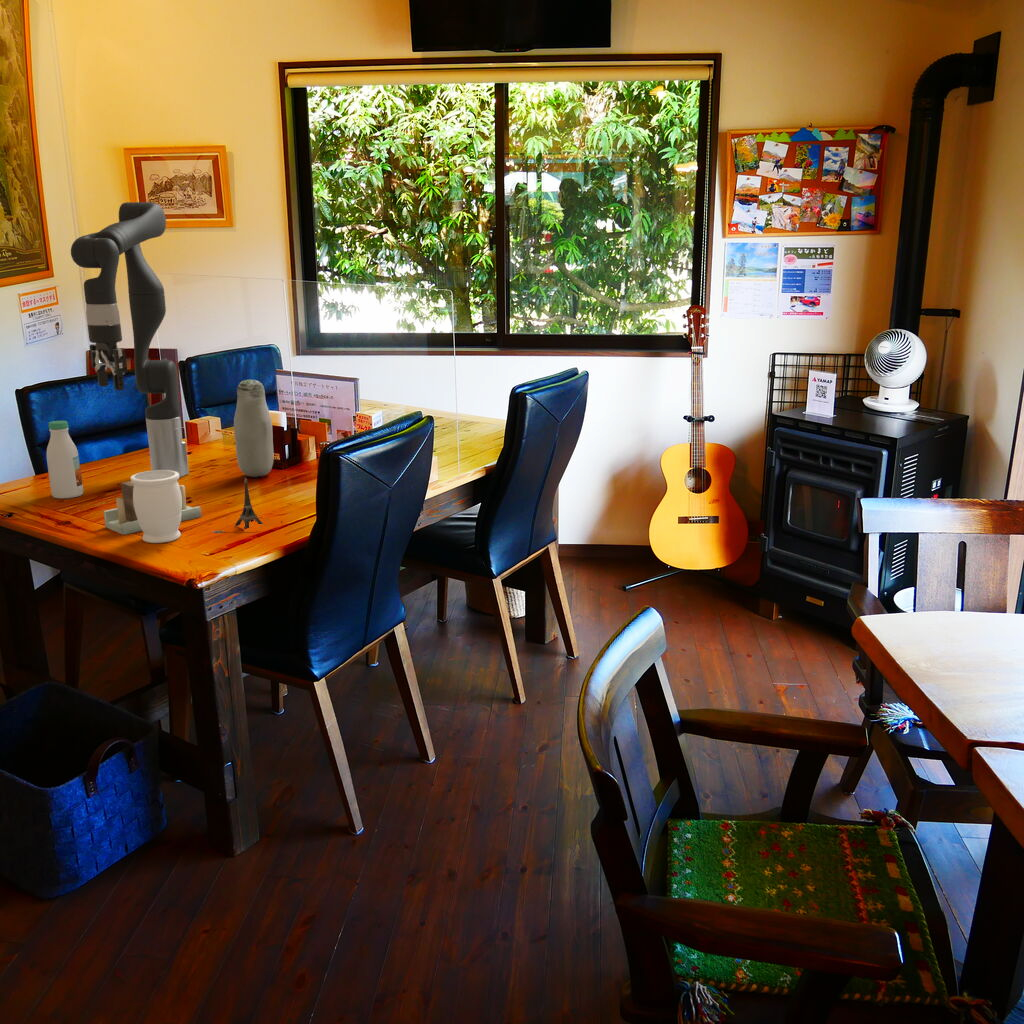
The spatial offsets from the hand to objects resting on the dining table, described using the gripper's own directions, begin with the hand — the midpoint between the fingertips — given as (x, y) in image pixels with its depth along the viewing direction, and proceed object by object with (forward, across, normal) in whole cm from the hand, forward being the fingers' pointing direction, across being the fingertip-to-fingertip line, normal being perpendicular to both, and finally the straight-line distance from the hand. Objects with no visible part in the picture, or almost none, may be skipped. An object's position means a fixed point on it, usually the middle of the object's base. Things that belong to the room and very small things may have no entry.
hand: (111, 388), depth 231 cm
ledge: (+30, +21, -3) cm, 37 cm away
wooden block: (+28, +21, -3) cm, 35 cm away
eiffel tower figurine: (+31, +41, +10) cm, 52 cm away
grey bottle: (+30, +1, +39) cm, 49 cm away
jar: (+30, +34, -8) cm, 46 cm away
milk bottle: (+30, -18, -7) cm, 36 cm away
